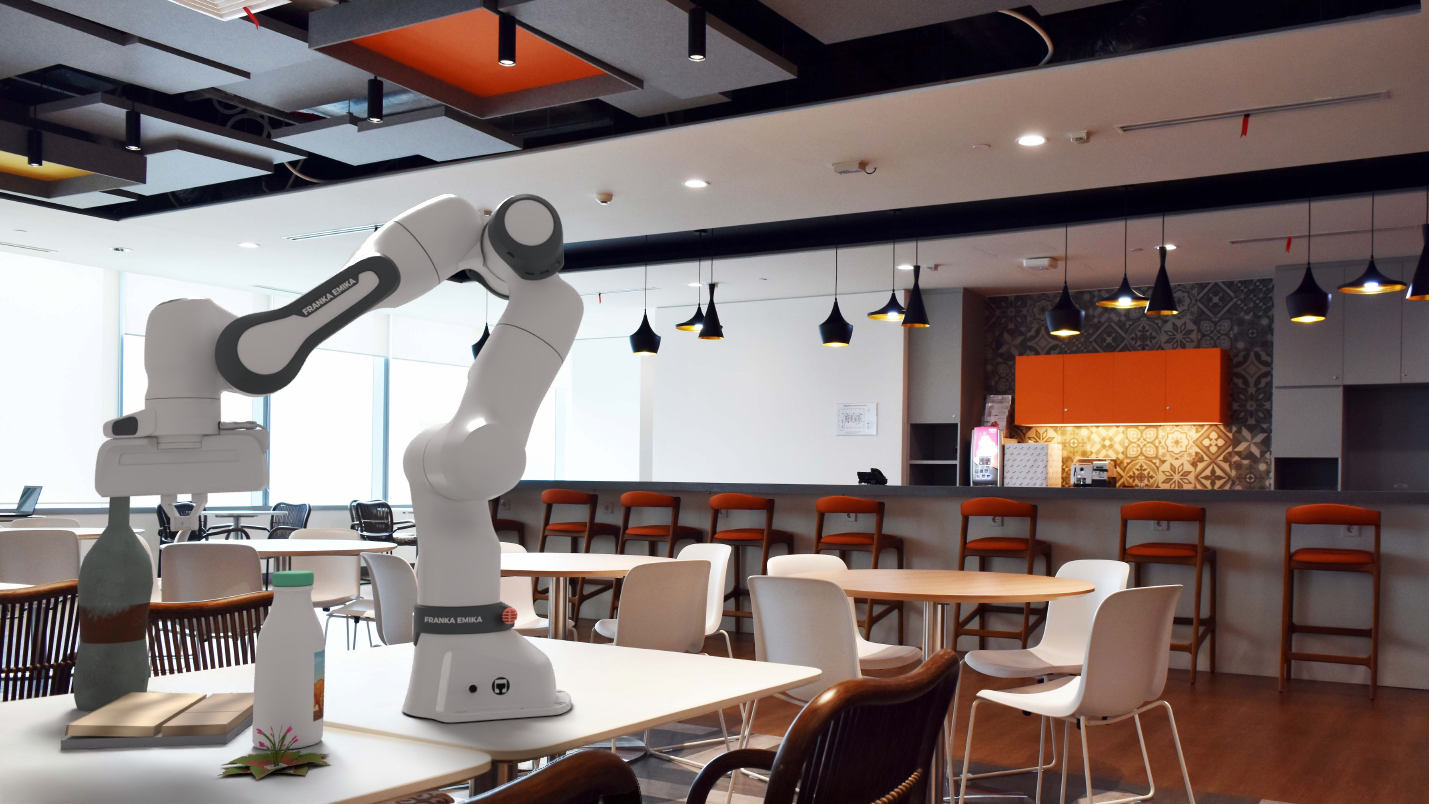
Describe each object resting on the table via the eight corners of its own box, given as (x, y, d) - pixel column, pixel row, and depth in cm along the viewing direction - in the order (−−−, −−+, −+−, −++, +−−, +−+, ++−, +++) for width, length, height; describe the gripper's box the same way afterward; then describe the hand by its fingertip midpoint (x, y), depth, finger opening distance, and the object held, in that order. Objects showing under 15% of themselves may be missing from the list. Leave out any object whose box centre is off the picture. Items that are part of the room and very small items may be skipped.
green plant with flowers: (347, 756, 121) (349, 715, 122) (315, 785, 109) (317, 739, 110) (239, 757, 120) (241, 715, 121) (195, 786, 108) (197, 740, 109)
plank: (205, 702, 143) (206, 693, 143) (153, 736, 124) (154, 726, 124) (130, 701, 142) (131, 692, 142) (64, 735, 122) (66, 724, 122)
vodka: (54, 710, 143) (65, 486, 145) (112, 697, 152) (122, 486, 154) (108, 714, 140) (118, 486, 142) (164, 701, 149) (173, 486, 151)
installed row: (268, 701, 144) (268, 691, 144) (226, 734, 125) (226, 723, 125) (213, 702, 143) (213, 693, 143) (161, 736, 124) (161, 725, 124)
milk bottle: (298, 753, 120) (304, 574, 122) (237, 749, 122) (243, 573, 123) (335, 737, 128) (340, 569, 129) (277, 734, 129) (283, 568, 131)
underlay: (270, 708, 144) (270, 700, 145) (227, 743, 125) (227, 734, 125) (127, 712, 142) (128, 704, 142) (60, 749, 122) (60, 740, 122)
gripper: (274, 421, 142) (275, 525, 142) (108, 426, 139) (109, 532, 138) (262, 419, 136) (264, 527, 135) (88, 424, 133) (89, 535, 132)
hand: (184, 530), depth 137 cm, fingers closed
